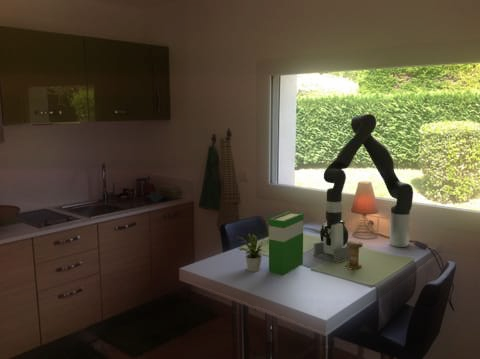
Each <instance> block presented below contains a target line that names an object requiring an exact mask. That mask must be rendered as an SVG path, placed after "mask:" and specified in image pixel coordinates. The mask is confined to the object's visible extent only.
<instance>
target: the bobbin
mask: <svg viewBox="0 0 480 359" xmlns="http://www.w3.org/2000/svg"><path fill="white" fill-rule="evenodd" d="M345 246H348V247H350V257H349V259H348V260H349V261H348V262H346V263H345V267H346V268H347V267H348V268H347V269H349V268H352V269H351V270H360V269H359V268H361V267H362V268H363V265H362V263H360V262H359V253H360V248H363V246H364V245H363V242H361V241H357V240H349V241H347V243H346V244H345ZM362 268H361V269H362Z"/></svg>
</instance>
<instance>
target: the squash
mask: <svg viewBox="0 0 480 359" xmlns="http://www.w3.org/2000/svg"><path fill="white" fill-rule="evenodd" d="M340 221H342V220H340ZM319 234H320V242H321V241H323V232H322V227H321V229H320V231H319ZM348 240H349V231H348V228H347V227H346V226H345V224H344V232H343V246H346V244H347V242H348Z"/></svg>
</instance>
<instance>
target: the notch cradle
mask: <svg viewBox="0 0 480 359" xmlns="http://www.w3.org/2000/svg"><path fill="white" fill-rule="evenodd" d="M313 244H314V245H313V256H314V257H316V258H319V259H322V260H325V261H329V262H331V261H332V262H331V263H333V262H335V263H334V264H337V263H336V262H338V263H340V262H339V261H341V262H343V261H342V260H344V261H346V260H345V259H347V260H349V259H348V258H349V257H350V247H348V246H347V245H343V247H340V248H337V249H333V255H331V254H328V253H325V252H324V243H323V241H321V240H320V241H318V242H315V243H313Z"/></svg>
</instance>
